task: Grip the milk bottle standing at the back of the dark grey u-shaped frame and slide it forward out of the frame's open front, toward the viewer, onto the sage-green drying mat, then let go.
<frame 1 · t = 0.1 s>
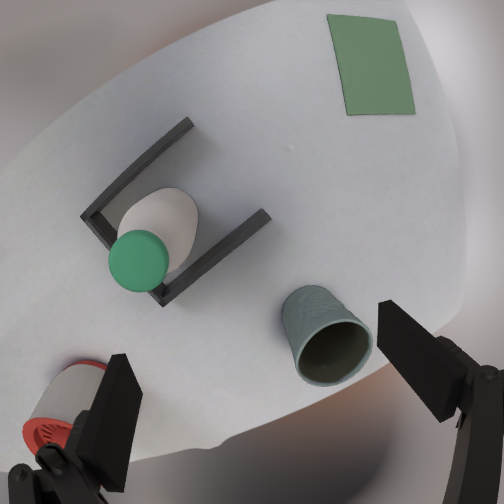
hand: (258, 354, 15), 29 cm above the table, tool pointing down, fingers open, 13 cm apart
grey-green cup: (308, 311, 48), on the table
drying mat: (373, 63, 38), on the table
dark grey u-shaped frame: (175, 211, 41), on the table
milk bottle: (169, 216, 41), on the table
citrus juicer: (95, 387, 47), on the table
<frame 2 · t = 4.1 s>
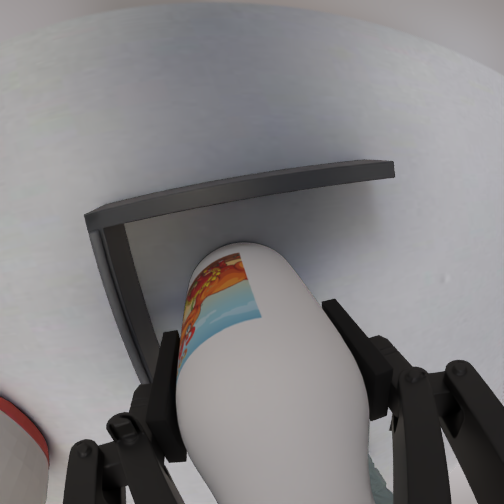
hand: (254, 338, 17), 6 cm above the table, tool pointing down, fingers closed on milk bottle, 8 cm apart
grey-green cup: (328, 462, 30), on the table
dark grey u-shaped frame: (256, 290, 23), on the table
milk bottle: (242, 291, 23), on the table, touching gripper
citrus juicer: (3, 424, 24), on the table
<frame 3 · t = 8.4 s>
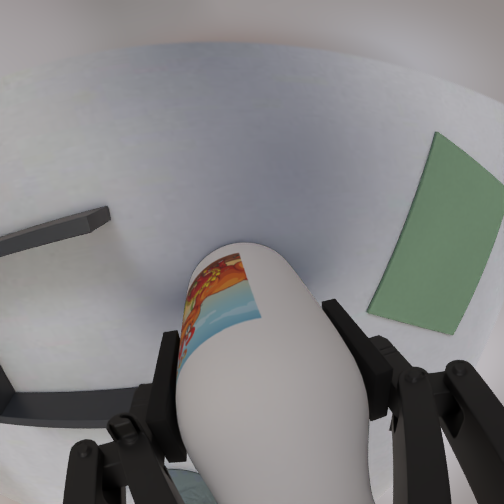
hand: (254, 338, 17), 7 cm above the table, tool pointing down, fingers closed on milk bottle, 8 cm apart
grey-green cup: (179, 486, 29), on the table
drying mat: (451, 244, 24), on the table
dark grey u-shaped frame: (42, 326, 22), on the table
milk bottle: (242, 292, 23), on the table, touching gripper
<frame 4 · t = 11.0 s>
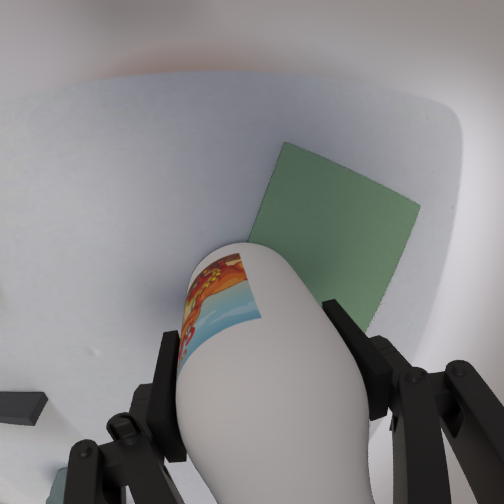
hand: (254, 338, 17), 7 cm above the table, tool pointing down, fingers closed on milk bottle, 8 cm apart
grey-green cup: (88, 485, 28), on the table
drying mat: (319, 276, 23), on the table
milk bottle: (242, 292, 23), on the table, touching gripper
when the fingers open (6 cm above the table, at t = 12.7 s): milk bottle stays where it is, resting on drying mat.
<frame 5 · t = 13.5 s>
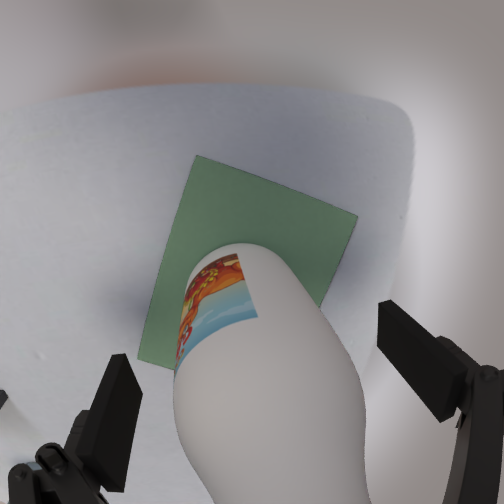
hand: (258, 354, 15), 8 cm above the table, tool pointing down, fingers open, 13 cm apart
drying mat: (241, 292, 23), on the table
milk bottle: (240, 292, 23), resting on drying mat
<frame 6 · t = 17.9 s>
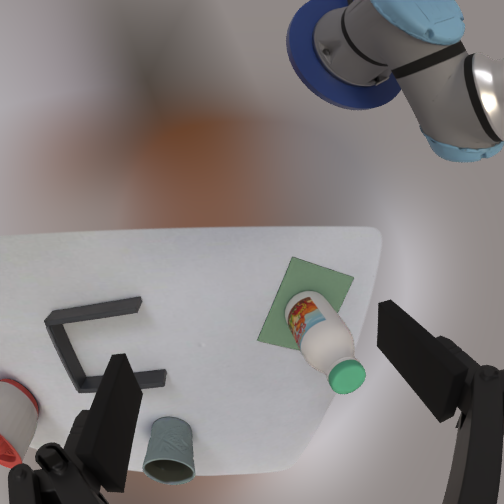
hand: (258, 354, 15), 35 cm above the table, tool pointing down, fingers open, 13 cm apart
grey-green cup: (171, 429, 59), on the table
drying mat: (305, 309, 54), on the table
dark grey u-shaped frame: (108, 343, 52), on the table
milk bottle: (305, 309, 54), resting on drying mat
citrus juicer: (16, 396, 53), on the table
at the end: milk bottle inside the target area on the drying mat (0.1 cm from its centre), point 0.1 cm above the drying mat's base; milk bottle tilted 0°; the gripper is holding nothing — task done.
